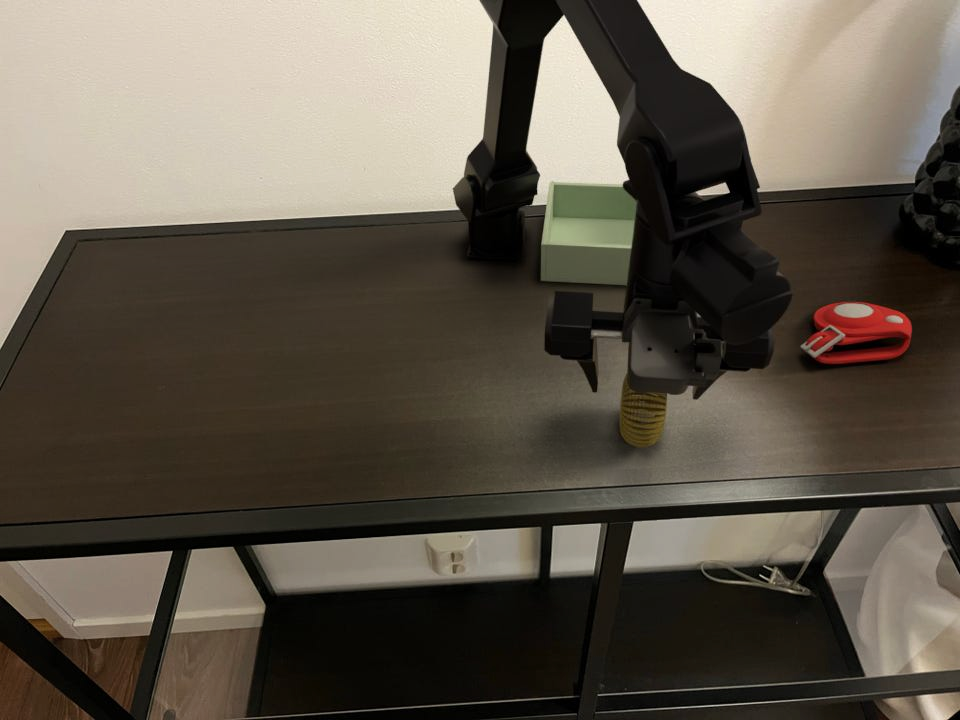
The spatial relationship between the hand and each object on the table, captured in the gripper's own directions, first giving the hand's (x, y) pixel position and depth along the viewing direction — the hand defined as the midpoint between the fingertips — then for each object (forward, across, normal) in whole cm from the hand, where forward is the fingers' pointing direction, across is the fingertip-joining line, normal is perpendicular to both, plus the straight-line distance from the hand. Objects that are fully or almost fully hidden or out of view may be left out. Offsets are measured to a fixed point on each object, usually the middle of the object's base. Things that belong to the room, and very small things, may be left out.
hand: (644, 392), depth 70 cm
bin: (+6, -5, +29) cm, 30 cm away
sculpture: (+6, 0, 0) cm, 6 cm away
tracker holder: (+6, +22, +15) cm, 27 cm away
